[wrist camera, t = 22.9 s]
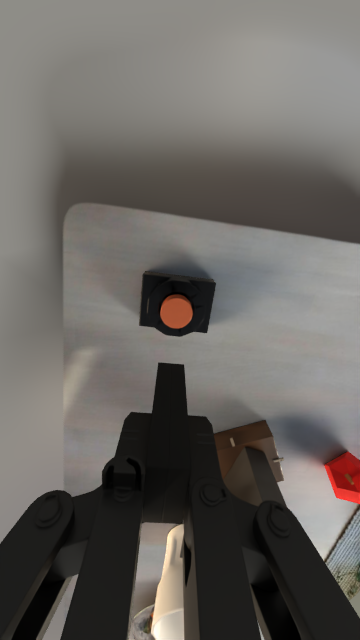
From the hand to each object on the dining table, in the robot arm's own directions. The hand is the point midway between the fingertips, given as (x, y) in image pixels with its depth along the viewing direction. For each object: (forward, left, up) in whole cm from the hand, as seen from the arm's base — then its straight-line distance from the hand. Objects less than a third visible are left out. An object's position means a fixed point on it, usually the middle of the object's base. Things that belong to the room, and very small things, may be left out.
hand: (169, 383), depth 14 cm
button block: (0, +1, -16) cm, 16 cm away
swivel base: (+22, -13, -16) cm, 30 cm away
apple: (+37, -5, -16) cm, 40 cm away
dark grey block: (+22, -13, -13) cm, 28 cm away
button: (0, +1, -12) cm, 12 cm away
